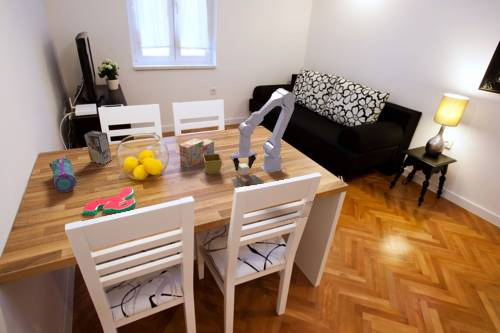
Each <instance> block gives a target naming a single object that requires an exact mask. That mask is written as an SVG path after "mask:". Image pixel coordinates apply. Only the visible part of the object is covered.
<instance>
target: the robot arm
mask: <svg viewBox="0 0 500 333" xmlns="http://www.w3.org/2000/svg"><path fill="white" fill-rule="evenodd" d="M295 102H296V97H295V94H294V93H293V92H291V91H288V90H286V89H284V88H282V87H281V88H280V87H279V88H278V89H276V90H275V91H274V92H273V93H272V94H271V97H270V98H269V99H268V101H267V102H266V103H265V104H264V105H263V106H262V107H261V108H260V109H259V110H258V111H254V112H252V113H251V115H249V117H248V118H247V119H246V120H244V122H241V123H240V124H239V125H238V127H237V130H238V132H239V139H238V140H239V142H238V144H239V145H238V152H236V153H233V154H230V159H231V160H232V162H233V165H234V170H235V171H236V172H238V166H239V164H240V160H239V159H242V158H248V159H247V160H248V163H247V165H248V166H249V170H250V169H252V166H253V164H254V163H255V161H256V160H257V156H258V152H257V151H256V150H254V151H253V150H251V140H252V139H251V138H252V135H254V130H255V129H256V128H257V127H258V126H259V125H260V124H261V123H262V122H263V121H264V117H265V116H266V115H267V114H269V113H270V112H271V110H272V109H274V108H275V107H281V111H280V114H279V116H278V119H277V121H276V124H275V126H274V128H273V131H272V134H271V136H270V137H267V139H266V141H265V142H264V143H263V145H262V148H263V151H264V154H263V155H264V156H263V165H260V168H261V169H262V170H263V171H264V173H265V174H270V173H276V172H281V171H282V169H281V168H282V162H283V160H282V155H281V151H282V150H281V149H282V142H281V140H282V138H283V135H284V134H285V131H286V128H287V127H288V123H289V122H290V120H291V117H292V114H293V113H294V110H295Z"/></svg>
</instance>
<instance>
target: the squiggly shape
mask: <svg viewBox="0 0 500 333" xmlns="http://www.w3.org/2000/svg"><path fill="white" fill-rule="evenodd" d="M134 195H135V194H134V189H133V188H132V187H130V186H128V187H124V188H122V190H120V192H119V194H118V195H112V196H109V197H108V198H98V199H95V200H92V201H91V202H89V203H87V204H86V205H84V206H83V208H82V211H83V214H85V215H87V216H92V215H96V214H99V213H98V212H99V210H100V209H102V212H103V213H105V214H109V213H114V214H121V213H120V212H124V211H127V212H129V211H130V210H132V209H133V208H135V207H136V205H137V203H136V200H135V199H134V198H133V197H134ZM124 213H125V212H124Z"/></svg>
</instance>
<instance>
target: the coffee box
mask: <svg viewBox="0 0 500 333" xmlns="http://www.w3.org/2000/svg"><path fill="white" fill-rule="evenodd" d="M84 139H85V142H86V148H87V151H88V155H89V156H88V157H89V159H90V163H94V162H96V164H99V163H101V164H100V165H107V164H108V163H110V162H111V161H112V160H113V158H112V152H111V147H110V143H109V142H110V141H109V138H108V132H105V131H104V132H103V131H96V130H91V131H89V132H87V133H84ZM111 159H112V160H111ZM110 160H111V161H110ZM109 161H110V162H109ZM107 162H108V163H107ZM106 163H107V164H106Z"/></svg>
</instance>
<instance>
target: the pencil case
mask: <svg viewBox="0 0 500 333" xmlns="http://www.w3.org/2000/svg"><path fill="white" fill-rule="evenodd" d="M49 168H50V170H52V174H53V176H52V177H53V185H54V188H55V190H56V191H58V192H61V193H68V192H70V191H72V190H73V189H74V188H75V187H76V185H77V183H78V180H77V178H76V177H75V173H74V171H73V167H72V162H71V160H70V159H69V158H66V157H58V158H57V159H54V160H53V161H52V162H51V163H49Z"/></svg>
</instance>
